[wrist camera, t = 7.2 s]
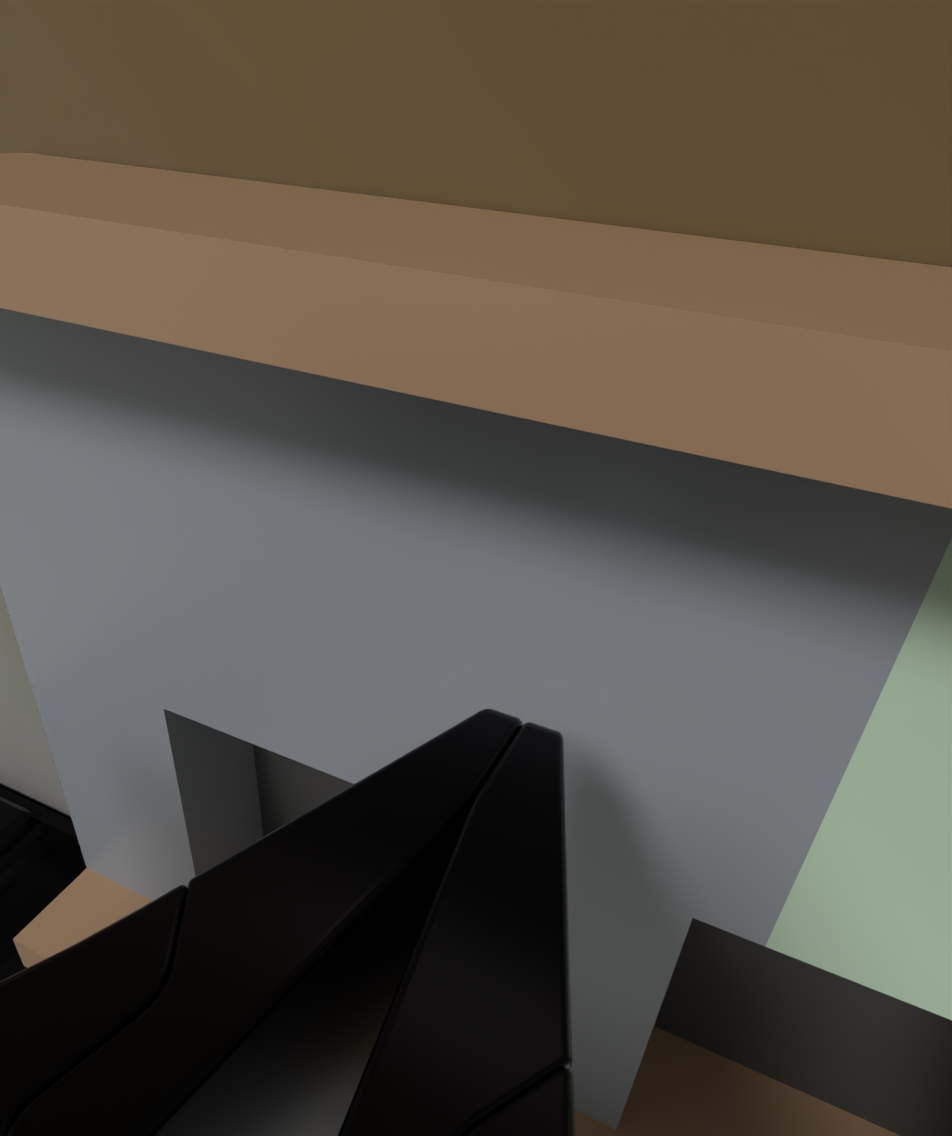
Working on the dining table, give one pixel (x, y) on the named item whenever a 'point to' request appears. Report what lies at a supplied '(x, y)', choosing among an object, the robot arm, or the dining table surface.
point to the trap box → (510, 592)
